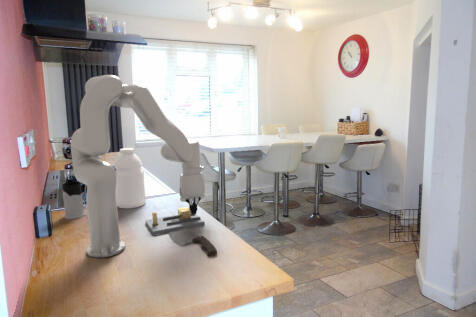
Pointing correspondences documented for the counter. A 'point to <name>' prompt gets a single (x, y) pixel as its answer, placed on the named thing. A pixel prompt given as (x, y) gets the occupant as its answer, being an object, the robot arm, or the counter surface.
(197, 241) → the cleaver
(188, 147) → the robot arm
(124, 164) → the bottle
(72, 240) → the counter surface
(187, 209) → the cardboard box
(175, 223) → the bolt plate
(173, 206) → the counter surface
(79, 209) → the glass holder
